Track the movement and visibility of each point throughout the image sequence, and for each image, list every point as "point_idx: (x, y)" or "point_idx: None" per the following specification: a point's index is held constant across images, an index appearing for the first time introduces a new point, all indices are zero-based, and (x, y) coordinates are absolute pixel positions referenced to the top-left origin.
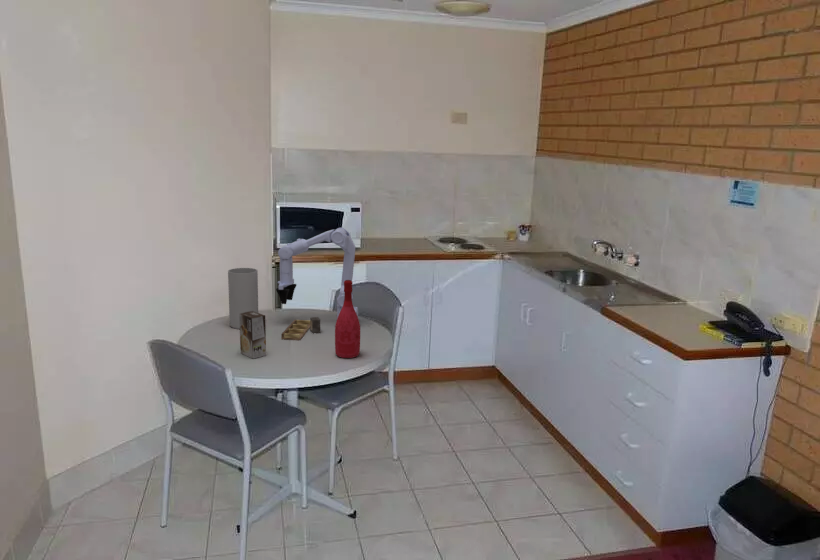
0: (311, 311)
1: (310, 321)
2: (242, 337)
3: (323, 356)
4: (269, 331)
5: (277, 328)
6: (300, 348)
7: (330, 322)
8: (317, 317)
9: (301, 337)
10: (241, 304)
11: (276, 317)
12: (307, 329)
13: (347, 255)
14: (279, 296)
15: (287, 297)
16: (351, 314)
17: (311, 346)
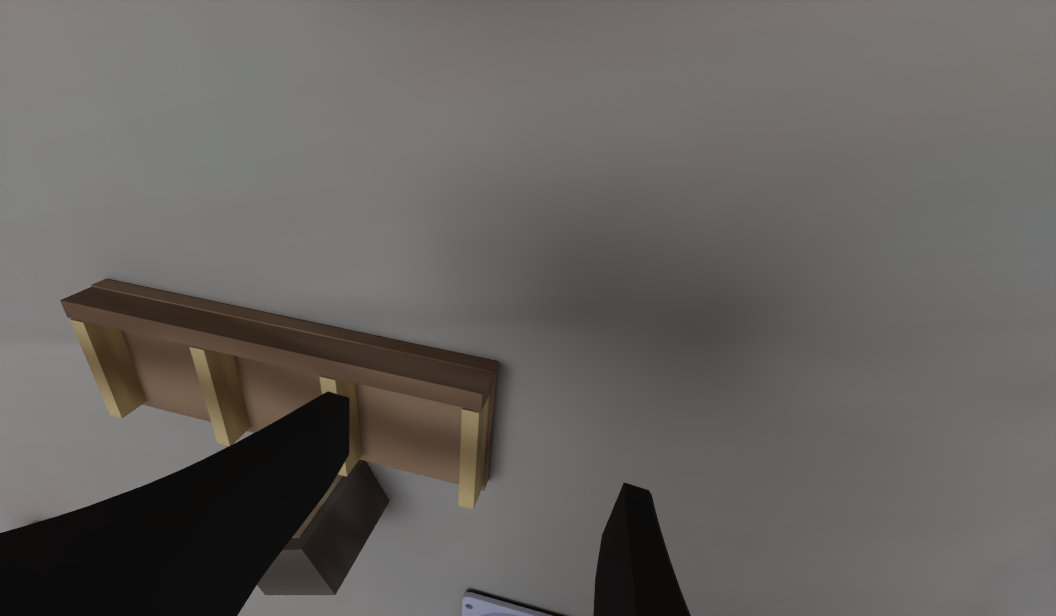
0: (1031, 518)
1: (307, 522)
2: None
3: (4, 478)
4: (245, 153)
5: (355, 219)
6: (31, 392)
7: (586, 587)
8: (319, 590)
9: (173, 408)
10: None
11: (819, 148)
12: None
13: None
14: (179, 472)
15: (619, 524)
16: None
17: (89, 444)
